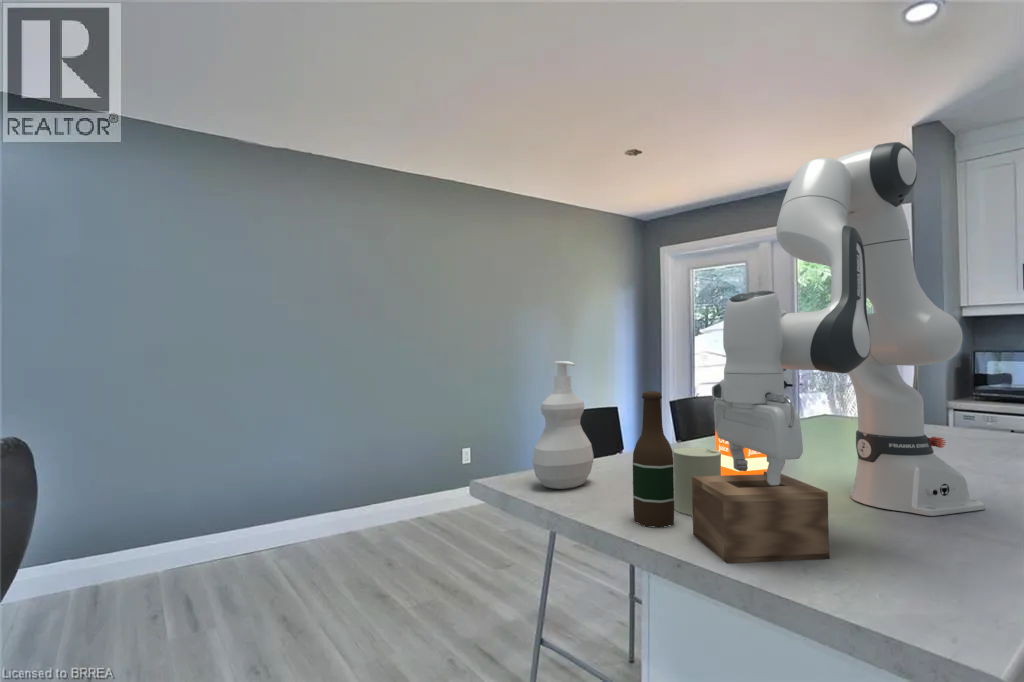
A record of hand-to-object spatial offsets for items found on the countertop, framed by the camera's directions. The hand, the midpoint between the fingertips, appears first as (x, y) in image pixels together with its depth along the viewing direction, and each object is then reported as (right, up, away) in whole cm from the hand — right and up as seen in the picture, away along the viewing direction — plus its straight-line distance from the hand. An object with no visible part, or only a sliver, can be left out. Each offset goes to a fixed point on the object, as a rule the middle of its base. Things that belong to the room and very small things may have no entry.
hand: (755, 476), depth 85 cm
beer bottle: (-13, -12, +13) cm, 22 cm away
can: (-2, -12, +20) cm, 23 cm away
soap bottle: (-27, -13, +40) cm, 50 cm away
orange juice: (+12, -12, +31) cm, 35 cm away
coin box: (0, -11, 0) cm, 11 cm away
